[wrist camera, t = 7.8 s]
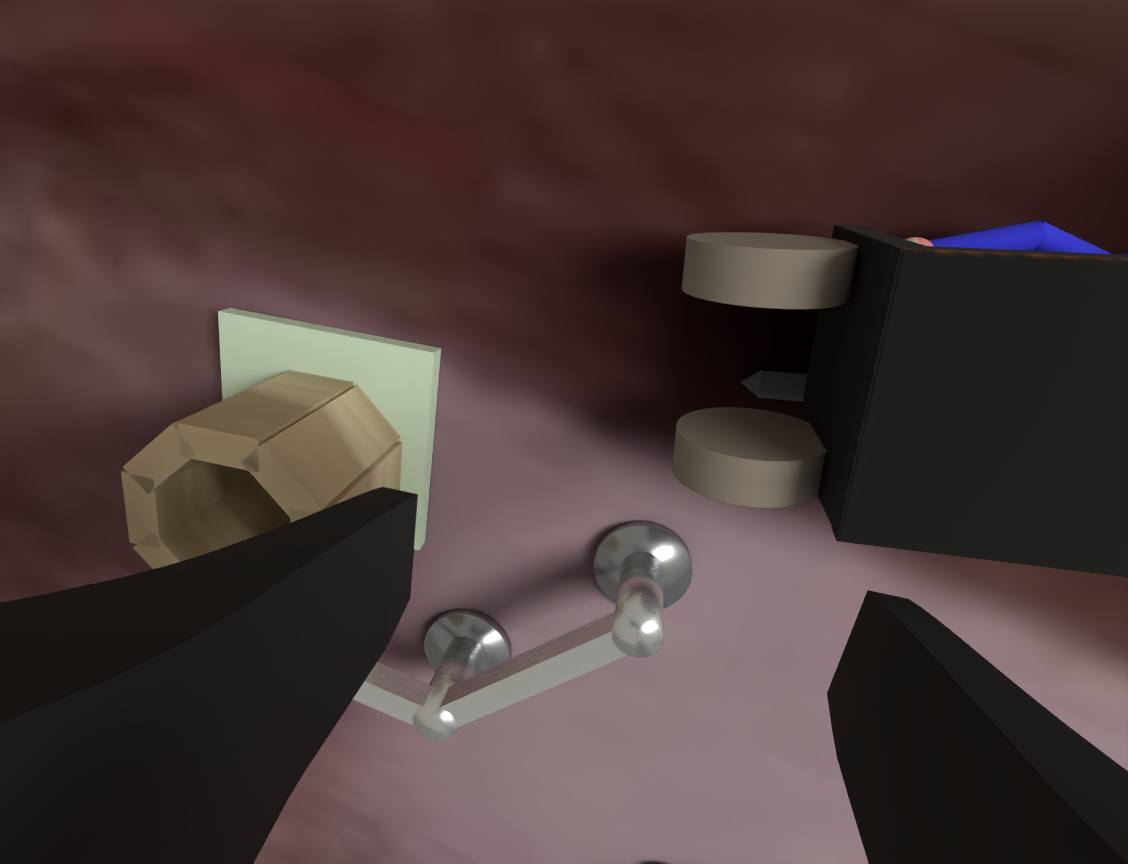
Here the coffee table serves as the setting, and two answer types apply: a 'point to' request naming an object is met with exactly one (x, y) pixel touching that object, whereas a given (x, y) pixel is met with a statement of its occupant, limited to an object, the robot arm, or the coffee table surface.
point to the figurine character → (931, 391)
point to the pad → (377, 364)
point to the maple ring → (256, 465)
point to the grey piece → (483, 650)
